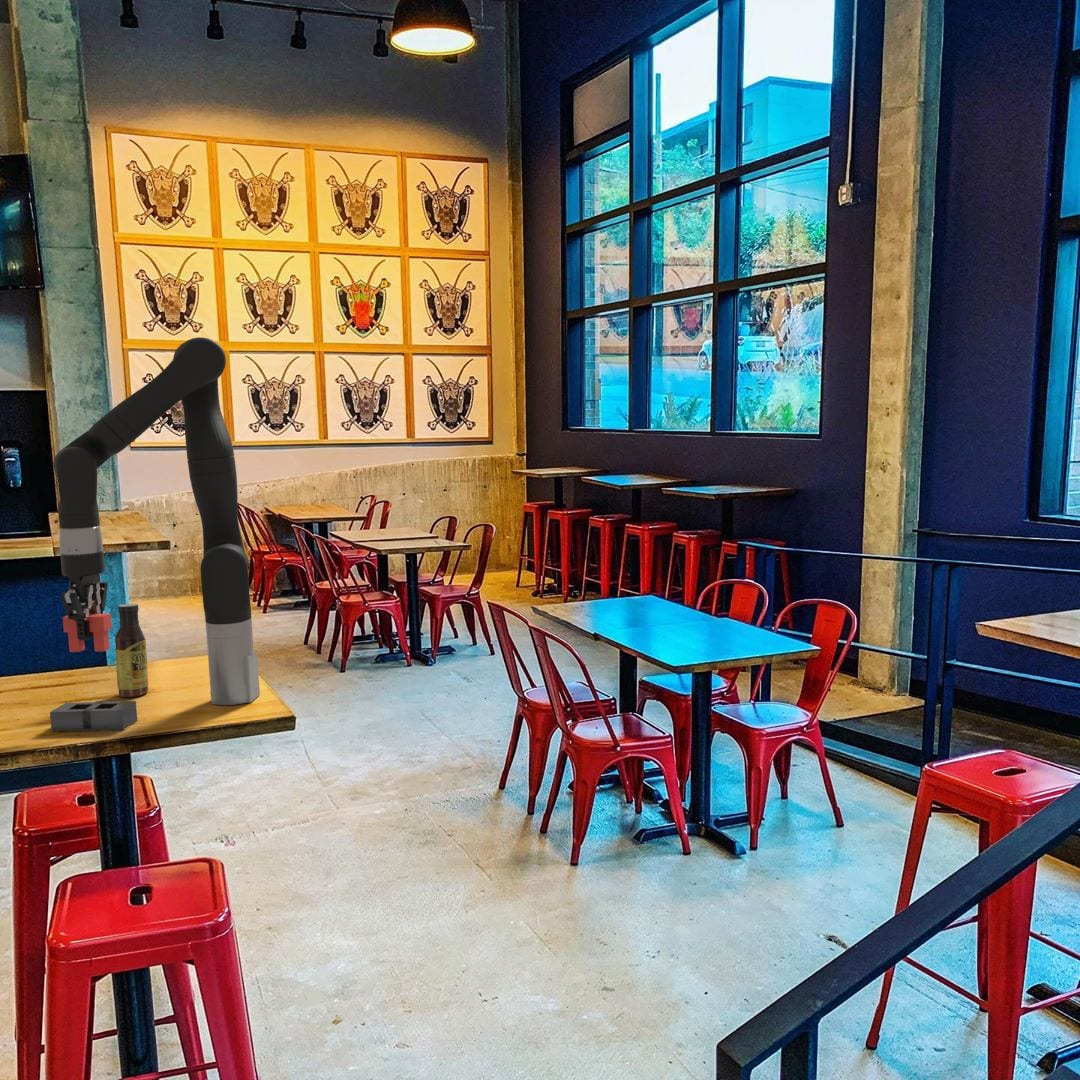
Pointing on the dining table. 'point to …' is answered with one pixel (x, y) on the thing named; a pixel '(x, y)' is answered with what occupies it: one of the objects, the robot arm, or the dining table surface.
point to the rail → (93, 716)
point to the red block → (97, 626)
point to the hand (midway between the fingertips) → (89, 637)
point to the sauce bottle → (131, 654)
